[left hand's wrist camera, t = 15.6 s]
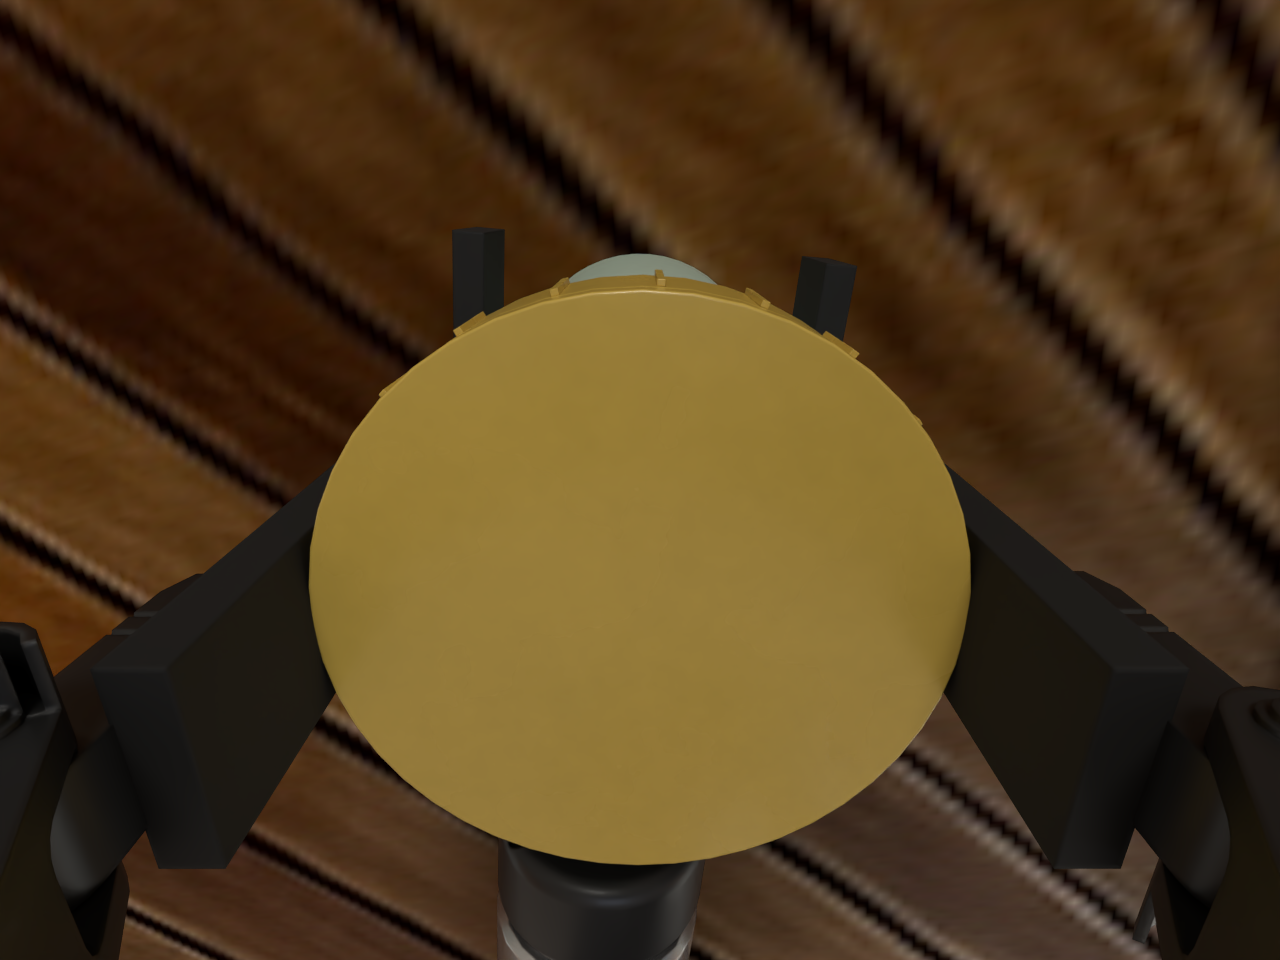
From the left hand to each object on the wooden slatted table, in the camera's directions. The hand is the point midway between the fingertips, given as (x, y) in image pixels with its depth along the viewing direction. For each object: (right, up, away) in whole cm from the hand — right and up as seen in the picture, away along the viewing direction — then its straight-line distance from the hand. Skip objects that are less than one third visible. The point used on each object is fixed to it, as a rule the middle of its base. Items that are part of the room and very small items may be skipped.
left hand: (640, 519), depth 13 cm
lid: (0, -1, -3) cm, 3 cm away
